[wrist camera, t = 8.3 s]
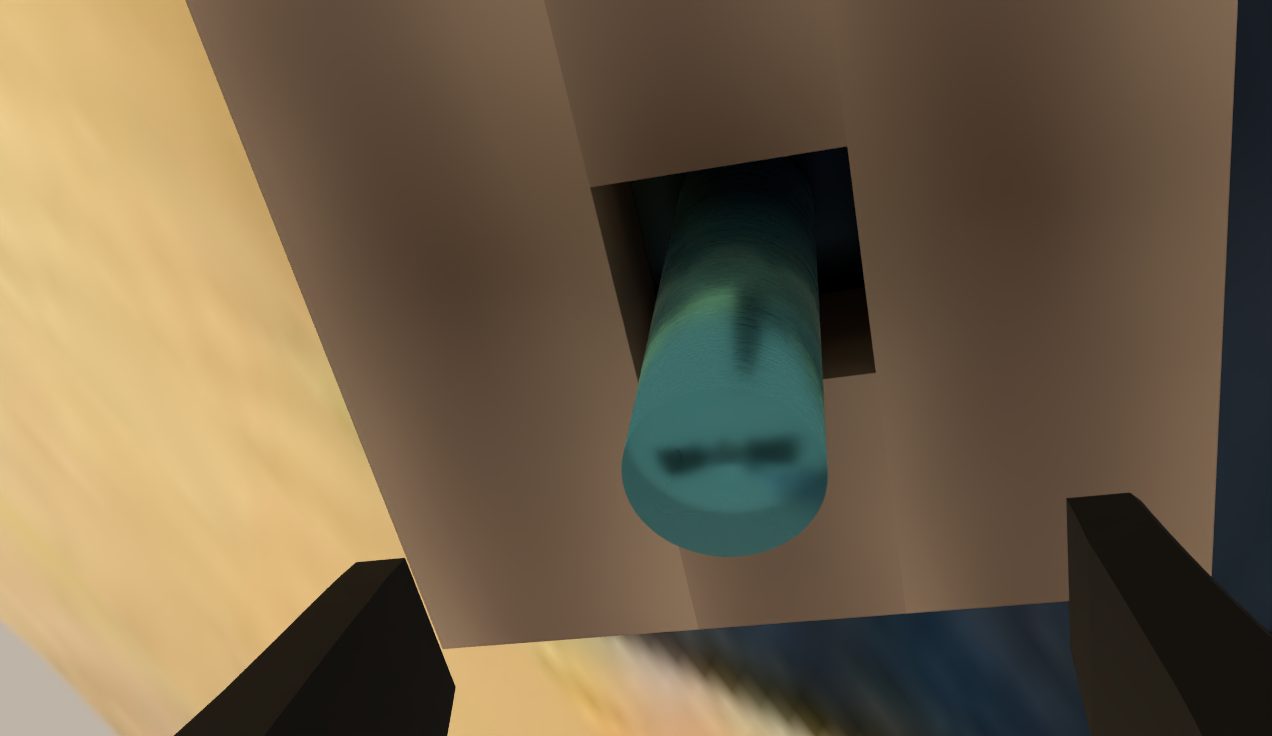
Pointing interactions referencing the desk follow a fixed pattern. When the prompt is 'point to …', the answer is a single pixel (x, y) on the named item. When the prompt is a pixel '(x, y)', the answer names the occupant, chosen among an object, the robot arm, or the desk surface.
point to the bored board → (849, 319)
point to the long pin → (733, 368)
